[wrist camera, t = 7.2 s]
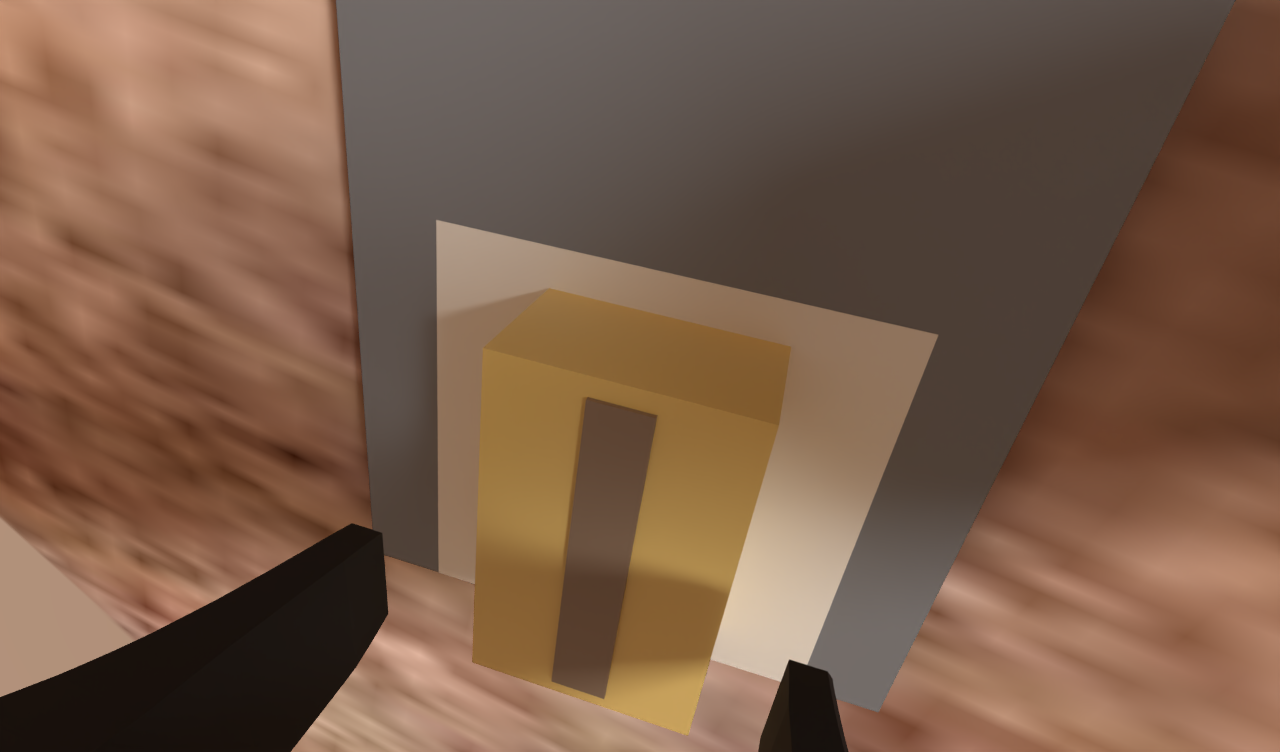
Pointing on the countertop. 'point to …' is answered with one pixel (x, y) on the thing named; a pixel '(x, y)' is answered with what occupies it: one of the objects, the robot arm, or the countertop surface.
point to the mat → (756, 250)
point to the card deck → (616, 498)
